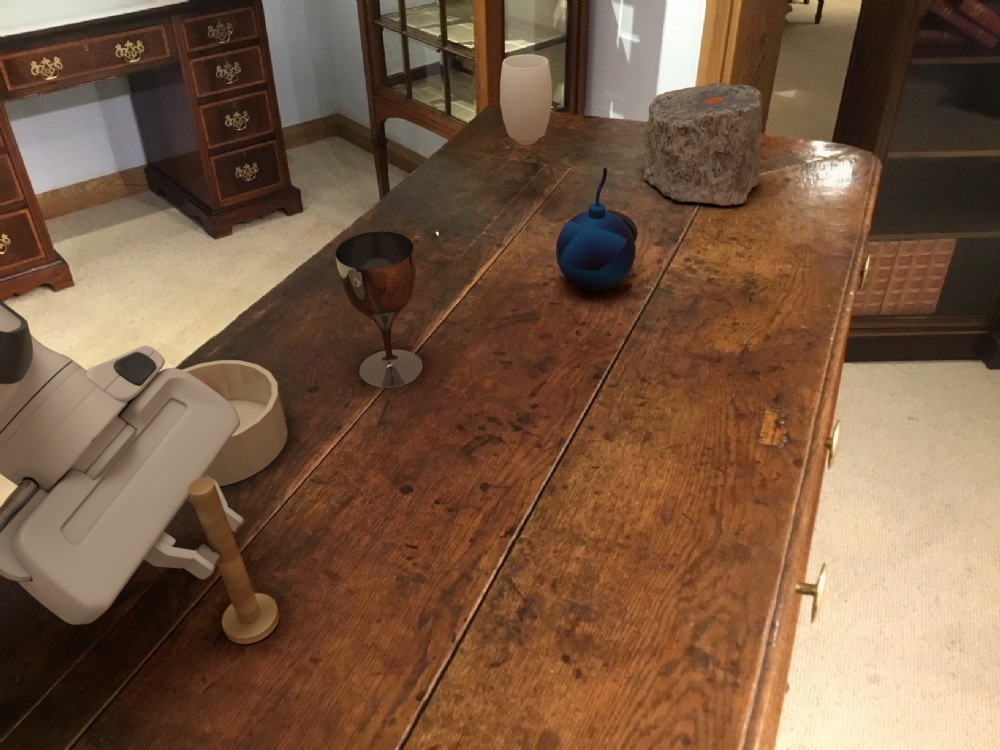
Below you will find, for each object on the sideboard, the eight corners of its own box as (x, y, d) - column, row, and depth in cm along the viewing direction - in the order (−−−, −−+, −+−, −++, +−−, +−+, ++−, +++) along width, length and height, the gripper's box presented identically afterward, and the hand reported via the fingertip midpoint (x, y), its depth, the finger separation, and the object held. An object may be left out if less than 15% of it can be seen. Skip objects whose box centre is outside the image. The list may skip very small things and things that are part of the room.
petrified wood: (637, 159, 139) (643, 65, 130) (745, 157, 138) (758, 63, 129) (648, 211, 124) (656, 109, 115) (769, 209, 123) (786, 106, 114)
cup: (493, 204, 127) (487, 63, 115) (525, 187, 132) (522, 49, 119) (530, 217, 123) (528, 73, 111) (561, 200, 128) (563, 59, 115)
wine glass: (435, 379, 93) (423, 259, 84) (365, 397, 91) (345, 276, 82) (414, 341, 99) (401, 225, 90) (347, 358, 97) (327, 240, 88)
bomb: (650, 273, 110) (659, 163, 101) (610, 313, 103) (616, 198, 94) (583, 255, 114) (586, 148, 105) (541, 291, 107) (540, 180, 98)
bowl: (131, 486, 82) (114, 443, 78) (183, 399, 92) (169, 358, 89) (265, 490, 80) (253, 447, 77) (302, 402, 91) (293, 361, 88)
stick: (212, 632, 68) (155, 497, 59) (249, 592, 71) (200, 457, 62) (254, 652, 66) (201, 516, 57) (290, 610, 69) (245, 474, 60)
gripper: (-24, 527, 50) (171, 655, 54) (161, 332, 66) (301, 442, 70) (-56, 566, 53) (129, 683, 57) (127, 372, 69) (262, 475, 73)
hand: (225, 550), depth 64 cm, fingers closed
